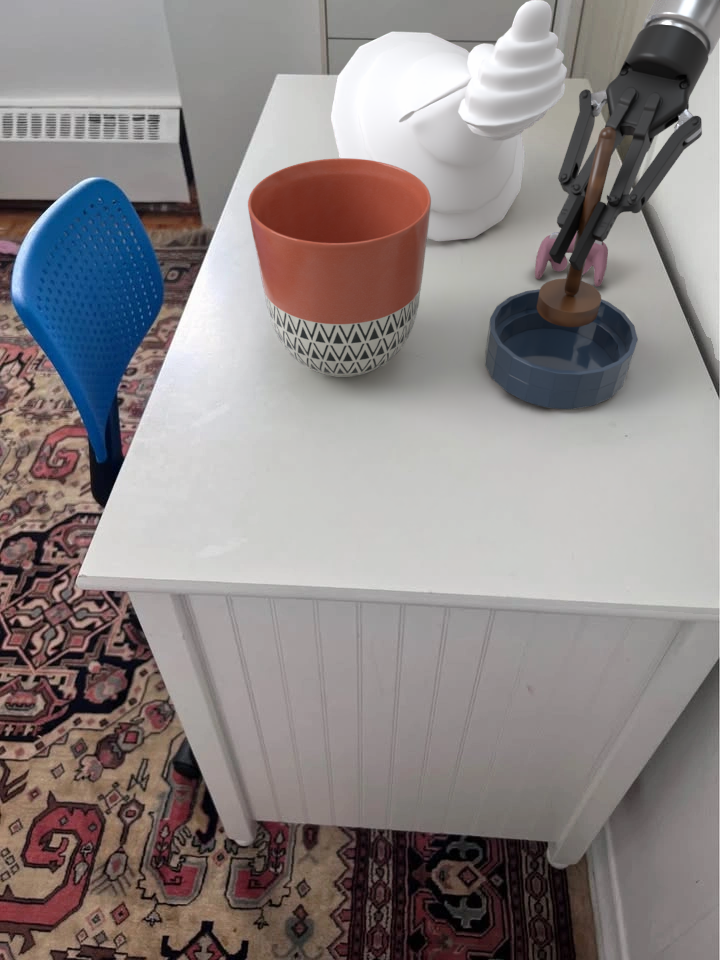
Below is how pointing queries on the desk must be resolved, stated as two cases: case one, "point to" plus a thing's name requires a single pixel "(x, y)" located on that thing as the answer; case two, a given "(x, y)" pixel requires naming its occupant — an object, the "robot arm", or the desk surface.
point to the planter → (341, 259)
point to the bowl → (558, 354)
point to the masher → (571, 296)
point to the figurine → (452, 114)
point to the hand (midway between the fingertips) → (564, 261)
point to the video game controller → (594, 258)
